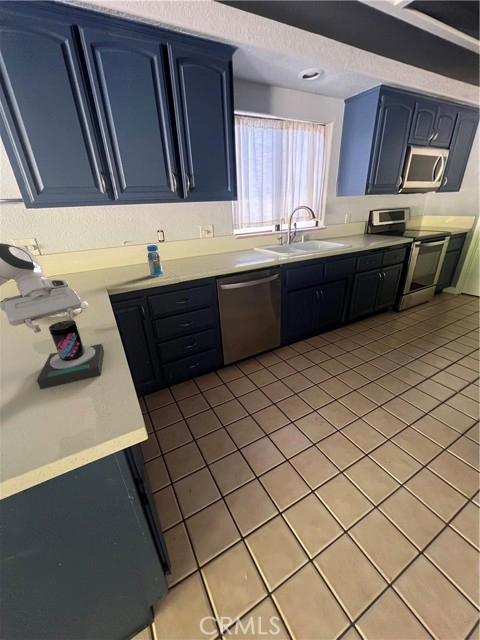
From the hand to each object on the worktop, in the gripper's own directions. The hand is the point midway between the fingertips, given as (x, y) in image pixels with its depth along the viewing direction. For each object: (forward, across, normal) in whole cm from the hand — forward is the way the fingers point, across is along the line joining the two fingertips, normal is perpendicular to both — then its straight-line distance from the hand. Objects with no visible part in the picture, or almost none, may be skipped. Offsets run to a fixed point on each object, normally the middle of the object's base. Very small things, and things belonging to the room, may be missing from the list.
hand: (55, 326), depth 85 cm
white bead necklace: (-22, +11, +37) cm, 44 cm away
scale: (+16, 0, -2) cm, 16 cm away
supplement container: (+13, 0, -3) cm, 13 cm away
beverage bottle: (-43, +77, +57) cm, 105 cm away
